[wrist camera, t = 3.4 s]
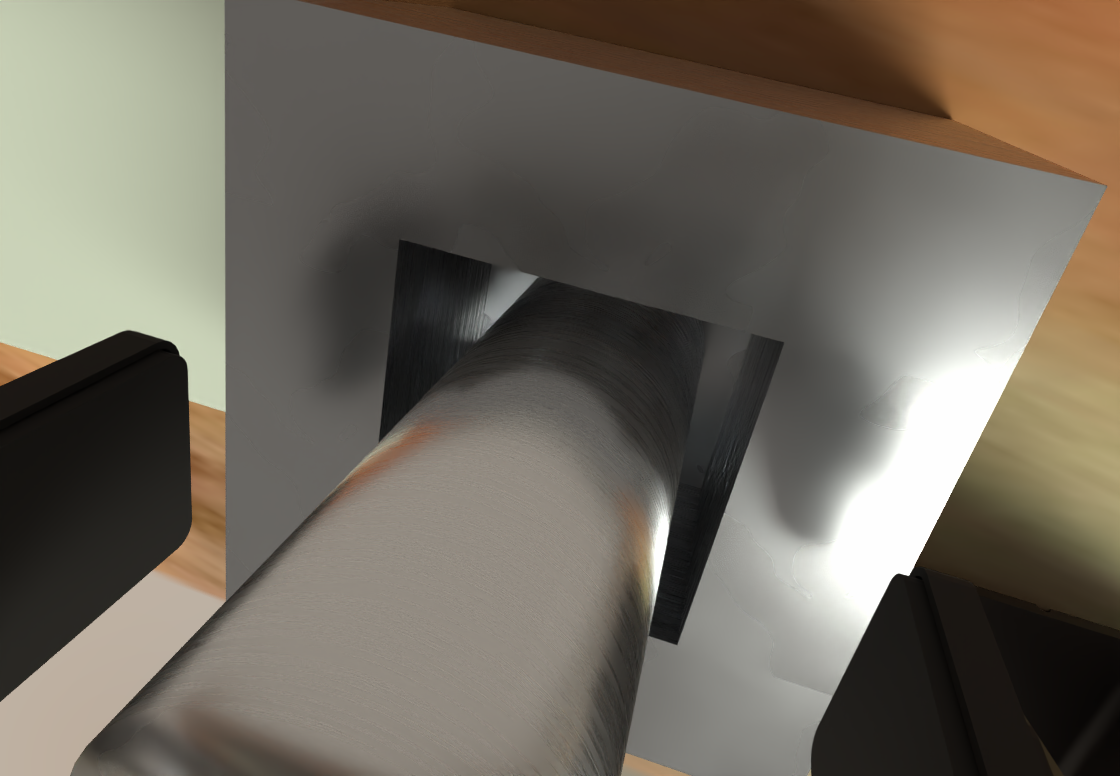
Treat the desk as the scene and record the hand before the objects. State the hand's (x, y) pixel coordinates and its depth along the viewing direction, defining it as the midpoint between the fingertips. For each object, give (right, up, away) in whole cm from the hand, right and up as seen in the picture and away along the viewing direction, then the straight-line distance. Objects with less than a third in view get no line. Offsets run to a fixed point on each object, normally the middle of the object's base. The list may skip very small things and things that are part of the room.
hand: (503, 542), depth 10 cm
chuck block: (+2, +4, +9) cm, 10 cm away
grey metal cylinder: (+2, +3, +6) cm, 7 cm away
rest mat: (-11, +8, +11) cm, 17 cm away
